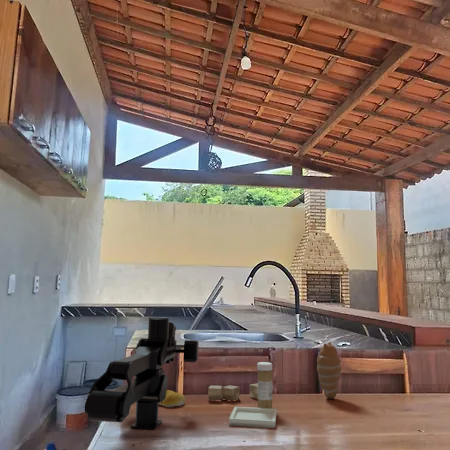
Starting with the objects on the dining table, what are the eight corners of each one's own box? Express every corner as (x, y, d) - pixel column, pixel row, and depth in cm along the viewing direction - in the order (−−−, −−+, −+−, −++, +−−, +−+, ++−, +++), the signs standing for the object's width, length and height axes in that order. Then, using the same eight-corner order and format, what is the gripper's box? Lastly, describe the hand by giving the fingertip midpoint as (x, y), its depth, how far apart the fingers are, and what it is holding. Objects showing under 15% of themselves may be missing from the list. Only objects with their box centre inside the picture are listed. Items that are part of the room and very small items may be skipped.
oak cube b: (232, 402, 129) (232, 389, 130) (222, 400, 131) (222, 387, 132) (239, 399, 132) (239, 386, 133) (229, 397, 134) (229, 385, 135)
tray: (275, 427, 104) (275, 421, 104) (229, 425, 105) (229, 418, 106) (276, 414, 115) (276, 408, 116) (234, 412, 117) (234, 406, 117)
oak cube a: (220, 401, 129) (220, 388, 130) (208, 401, 130) (208, 388, 130) (222, 398, 133) (222, 385, 134) (210, 398, 134) (210, 385, 134)
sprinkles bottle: (265, 407, 123) (264, 361, 125) (276, 410, 119) (275, 363, 122) (254, 409, 120) (253, 362, 122) (264, 413, 117) (264, 364, 119)
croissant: (323, 394, 140) (321, 340, 143) (345, 397, 136) (343, 342, 139) (313, 399, 133) (312, 342, 136) (336, 403, 128) (334, 344, 132)
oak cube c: (266, 397, 135) (266, 385, 136) (257, 399, 133) (257, 386, 133) (258, 395, 138) (258, 383, 139) (249, 397, 136) (249, 384, 136)
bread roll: (171, 409, 120) (172, 395, 121) (151, 404, 126) (152, 391, 126) (191, 404, 126) (191, 390, 127) (171, 399, 132) (171, 386, 133)
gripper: (192, 325, 117) (203, 322, 132) (131, 324, 120) (149, 321, 135) (191, 365, 115) (203, 357, 130) (129, 363, 118) (147, 356, 133)
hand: (175, 347), depth 132 cm, fingers open, 9 cm apart
